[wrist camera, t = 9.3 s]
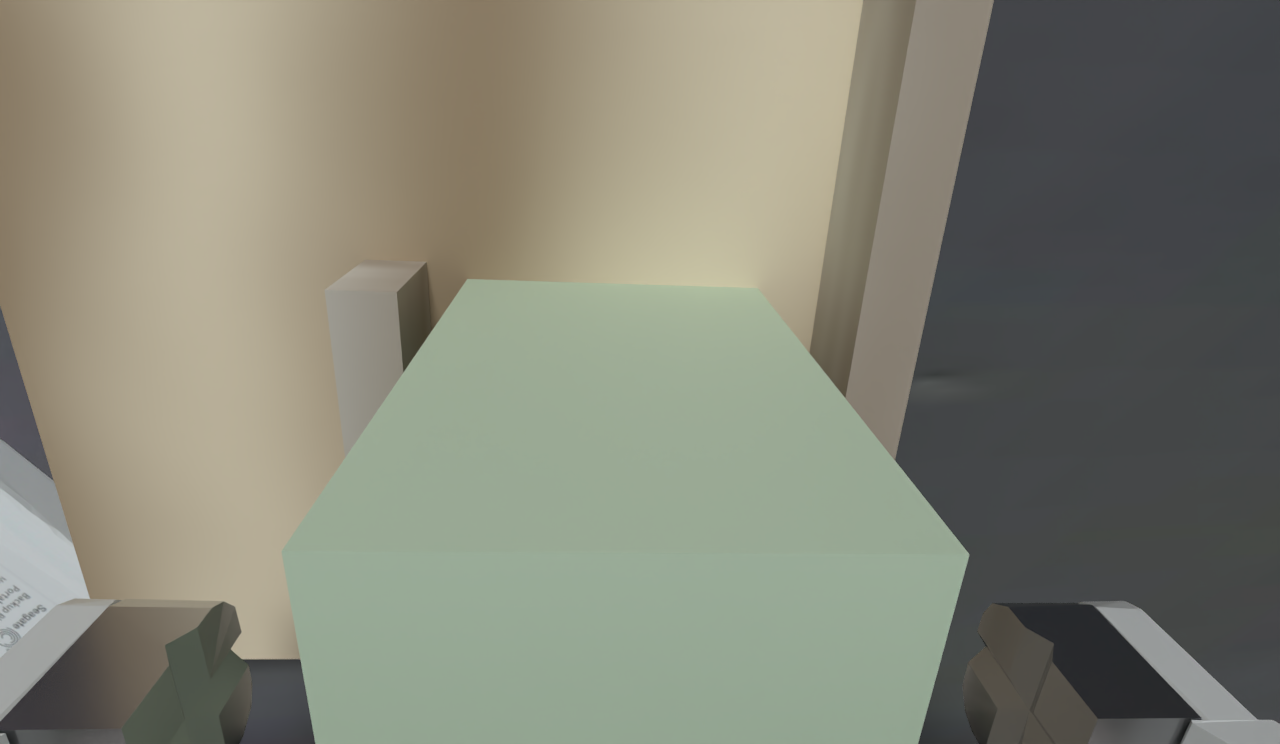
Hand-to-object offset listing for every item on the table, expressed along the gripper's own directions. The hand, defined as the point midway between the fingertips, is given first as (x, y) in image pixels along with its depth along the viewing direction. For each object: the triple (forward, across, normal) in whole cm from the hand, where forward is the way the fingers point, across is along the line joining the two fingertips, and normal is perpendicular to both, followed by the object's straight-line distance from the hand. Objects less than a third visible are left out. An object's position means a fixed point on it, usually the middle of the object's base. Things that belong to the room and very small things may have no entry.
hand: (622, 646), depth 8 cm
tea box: (+3, 0, 0) cm, 3 cm away
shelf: (+5, +3, -2) cm, 7 cm away
